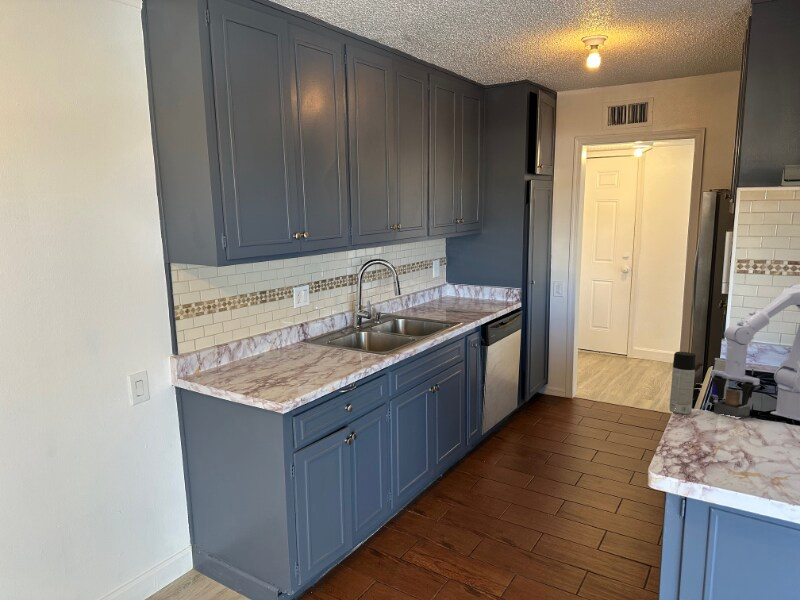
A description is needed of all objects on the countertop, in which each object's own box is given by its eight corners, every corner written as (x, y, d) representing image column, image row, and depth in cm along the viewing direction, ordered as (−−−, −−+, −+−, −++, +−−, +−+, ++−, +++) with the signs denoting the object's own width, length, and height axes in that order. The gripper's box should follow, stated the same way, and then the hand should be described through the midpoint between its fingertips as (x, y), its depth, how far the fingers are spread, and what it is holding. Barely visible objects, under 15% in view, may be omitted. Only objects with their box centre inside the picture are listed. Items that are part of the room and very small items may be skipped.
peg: (740, 415, 186) (742, 391, 185) (734, 416, 184) (736, 393, 183) (728, 412, 189) (730, 389, 188) (721, 413, 187) (723, 390, 186)
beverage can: (712, 396, 210) (716, 356, 208) (728, 398, 207) (731, 359, 205) (709, 398, 206) (713, 358, 204) (725, 401, 203) (729, 360, 201)
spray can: (693, 412, 188) (698, 353, 186) (687, 416, 183) (692, 355, 181) (672, 407, 192) (677, 350, 191) (666, 411, 187) (670, 352, 186)
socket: (749, 416, 185) (750, 405, 185) (737, 419, 181) (738, 408, 181) (725, 410, 191) (726, 400, 191) (713, 412, 187) (714, 402, 187)
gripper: (707, 358, 188) (704, 397, 190) (753, 366, 176) (749, 408, 178) (718, 356, 192) (715, 395, 194) (764, 364, 180) (760, 405, 181)
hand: (732, 401), depth 186 cm, fingers open, 7 cm apart
